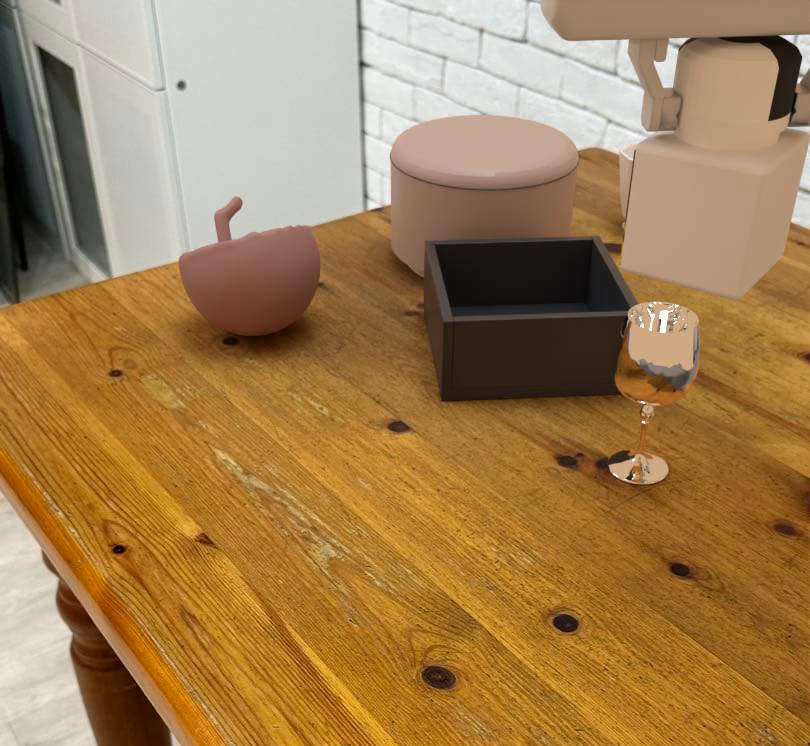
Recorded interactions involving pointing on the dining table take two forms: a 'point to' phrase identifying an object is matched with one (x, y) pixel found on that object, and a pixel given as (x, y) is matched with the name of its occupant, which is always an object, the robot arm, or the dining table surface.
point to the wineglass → (653, 376)
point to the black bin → (523, 316)
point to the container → (479, 182)
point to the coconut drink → (252, 276)
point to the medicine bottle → (719, 169)
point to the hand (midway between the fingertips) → (727, 126)
